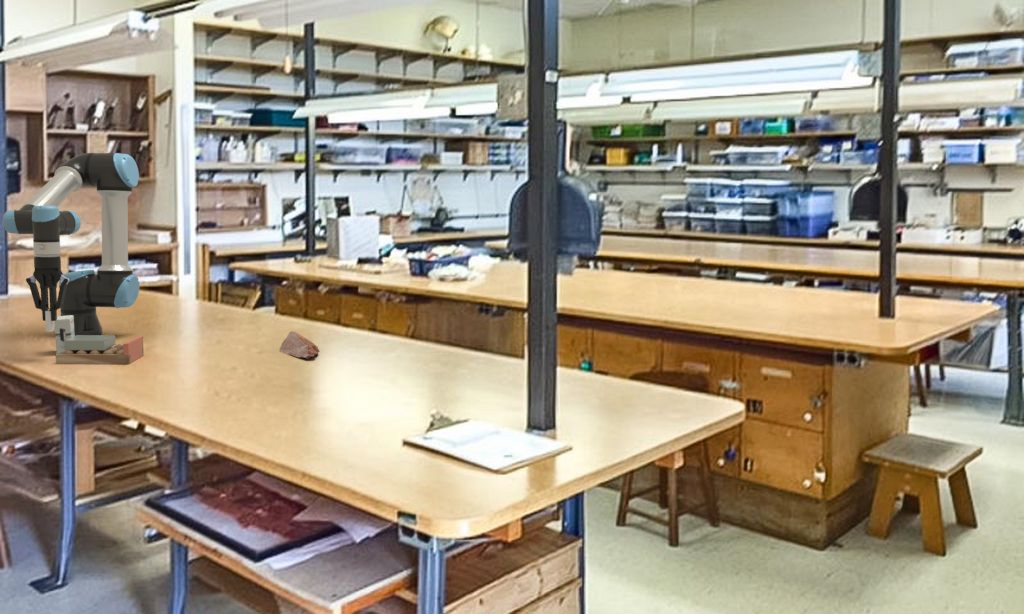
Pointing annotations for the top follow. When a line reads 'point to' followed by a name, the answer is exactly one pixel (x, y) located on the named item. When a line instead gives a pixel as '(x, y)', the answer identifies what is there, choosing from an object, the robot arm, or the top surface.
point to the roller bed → (95, 356)
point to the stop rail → (133, 348)
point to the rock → (298, 346)
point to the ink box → (63, 331)
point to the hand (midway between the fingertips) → (50, 331)
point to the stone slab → (90, 342)
